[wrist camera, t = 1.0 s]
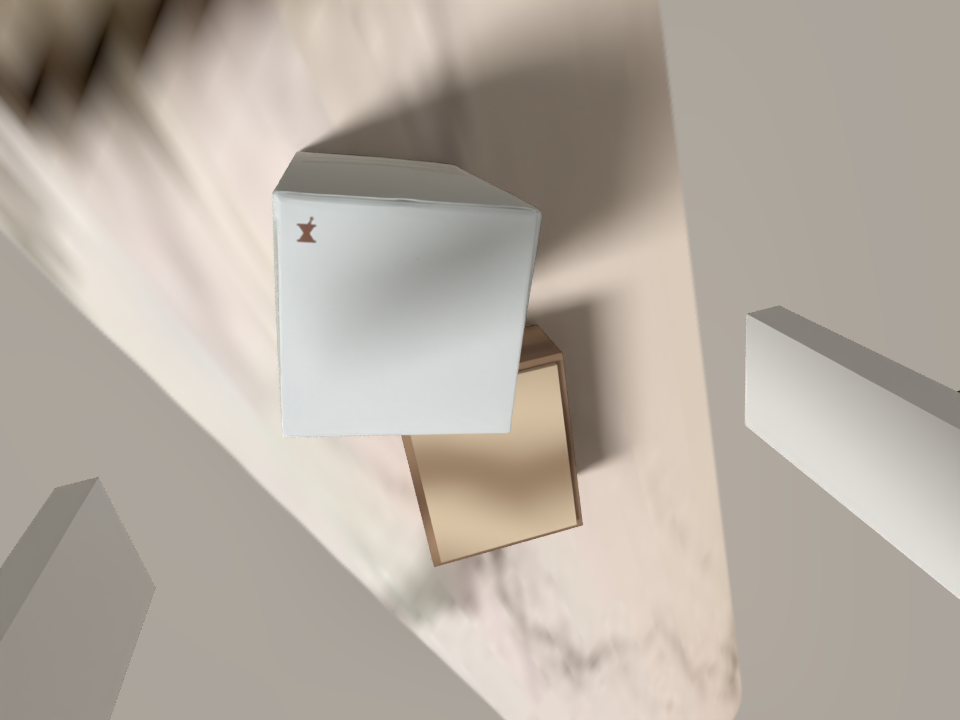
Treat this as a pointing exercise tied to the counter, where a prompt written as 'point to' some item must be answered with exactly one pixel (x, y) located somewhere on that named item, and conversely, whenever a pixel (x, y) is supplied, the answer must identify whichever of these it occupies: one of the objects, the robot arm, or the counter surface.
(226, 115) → the counter surface
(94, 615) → the robot arm
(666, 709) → the counter surface
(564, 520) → the brown wooden block
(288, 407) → the supplement box
